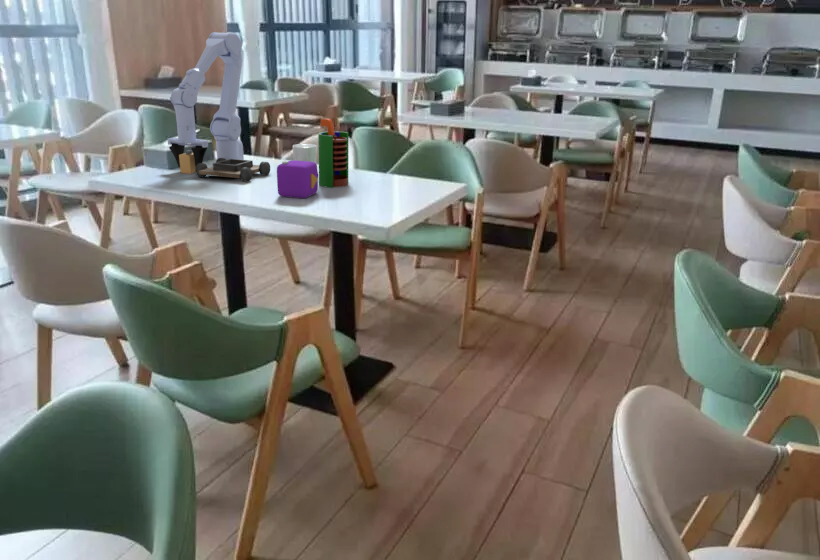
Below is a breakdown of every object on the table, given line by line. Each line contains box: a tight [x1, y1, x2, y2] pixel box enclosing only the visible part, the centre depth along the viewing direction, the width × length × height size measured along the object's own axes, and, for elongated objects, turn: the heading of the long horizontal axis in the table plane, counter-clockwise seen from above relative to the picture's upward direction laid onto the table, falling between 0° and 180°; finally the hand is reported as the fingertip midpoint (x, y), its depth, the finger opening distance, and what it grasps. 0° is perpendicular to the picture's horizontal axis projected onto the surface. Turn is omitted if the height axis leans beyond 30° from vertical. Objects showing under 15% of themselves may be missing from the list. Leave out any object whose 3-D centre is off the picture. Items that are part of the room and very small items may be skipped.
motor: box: [317, 118, 349, 189], centre depth 209 cm, size 10×9×20 cm
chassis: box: [195, 158, 271, 183], centre depth 221 cm, size 16×18×5 cm
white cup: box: [292, 143, 318, 165], centre depth 222 cm, size 8×8×10 cm
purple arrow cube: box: [276, 159, 319, 199], centre depth 198 cm, size 11×14×10 cm
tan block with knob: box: [179, 150, 196, 175], centre depth 226 cm, size 5×4×7 cm
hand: (190, 167), depth 227 cm, fingers open, 6 cm apart
